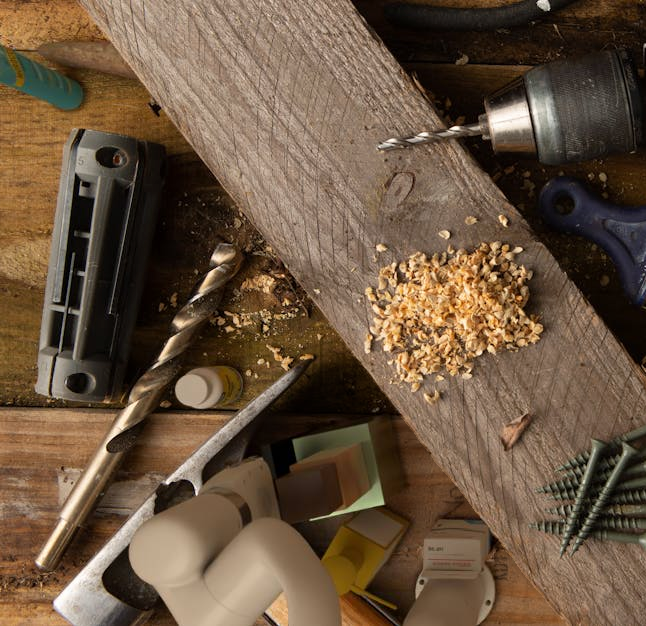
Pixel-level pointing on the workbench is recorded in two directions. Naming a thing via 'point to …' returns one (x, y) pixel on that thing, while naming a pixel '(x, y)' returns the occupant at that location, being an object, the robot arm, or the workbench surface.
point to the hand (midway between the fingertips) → (275, 487)
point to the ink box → (456, 549)
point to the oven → (375, 449)
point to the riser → (343, 470)
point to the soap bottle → (363, 549)
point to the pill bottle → (209, 387)
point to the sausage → (88, 56)
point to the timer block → (309, 493)
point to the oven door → (280, 458)
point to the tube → (38, 80)
